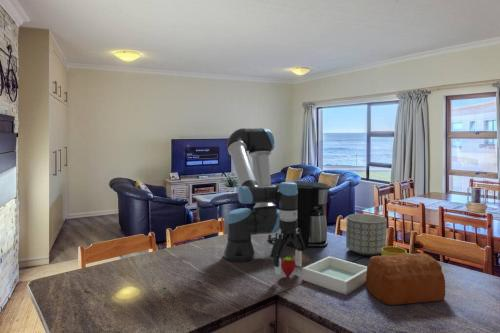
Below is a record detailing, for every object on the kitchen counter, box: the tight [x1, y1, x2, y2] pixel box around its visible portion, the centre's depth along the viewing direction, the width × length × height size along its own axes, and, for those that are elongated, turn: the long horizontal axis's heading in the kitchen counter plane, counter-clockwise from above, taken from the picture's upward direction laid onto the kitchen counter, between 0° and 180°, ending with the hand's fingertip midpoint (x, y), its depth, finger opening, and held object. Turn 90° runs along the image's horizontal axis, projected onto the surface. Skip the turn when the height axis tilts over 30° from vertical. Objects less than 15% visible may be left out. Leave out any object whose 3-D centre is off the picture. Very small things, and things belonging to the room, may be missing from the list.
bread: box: [365, 252, 446, 306], centre depth 131 cm, size 17×24×15 cm
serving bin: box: [302, 256, 368, 296], centre depth 145 cm, size 20×20×5 cm
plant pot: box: [380, 245, 408, 256], centre depth 153 cm, size 10×10×10 cm
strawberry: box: [281, 255, 296, 278], centre depth 147 cm, size 6×8×10 cm
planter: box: [345, 213, 388, 257], centre depth 177 cm, size 19×19×18 cm
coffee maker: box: [267, 180, 332, 248], centre depth 194 cm, size 23×32×34 cm
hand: (288, 269), depth 147 cm, fingers open, 13 cm apart
